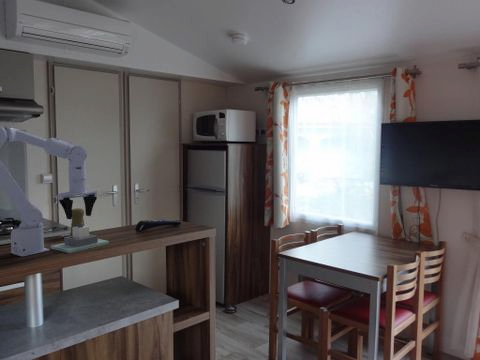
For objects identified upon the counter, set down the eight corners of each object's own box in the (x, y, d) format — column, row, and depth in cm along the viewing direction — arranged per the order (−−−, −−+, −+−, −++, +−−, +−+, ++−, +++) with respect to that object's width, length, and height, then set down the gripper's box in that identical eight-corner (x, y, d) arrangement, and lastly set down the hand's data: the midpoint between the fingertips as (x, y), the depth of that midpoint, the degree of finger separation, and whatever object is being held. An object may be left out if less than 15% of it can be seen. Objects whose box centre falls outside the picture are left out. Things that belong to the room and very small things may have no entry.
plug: (79, 245, 142) (78, 224, 141) (73, 243, 144) (72, 223, 144) (89, 243, 145) (88, 222, 145) (82, 241, 148) (82, 221, 147)
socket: (69, 253, 136) (68, 242, 135) (50, 248, 142) (50, 238, 141) (108, 243, 149) (108, 234, 148) (90, 239, 155) (90, 230, 155)
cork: (66, 236, 161) (65, 209, 160) (77, 233, 167) (76, 207, 166) (79, 237, 159) (78, 210, 158) (89, 234, 165) (88, 207, 164)
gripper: (64, 181, 136) (66, 221, 137) (101, 178, 147) (103, 215, 148) (53, 180, 140) (55, 219, 141) (90, 178, 151) (91, 213, 152)
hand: (79, 217), depth 145 cm, fingers open, 7 cm apart
